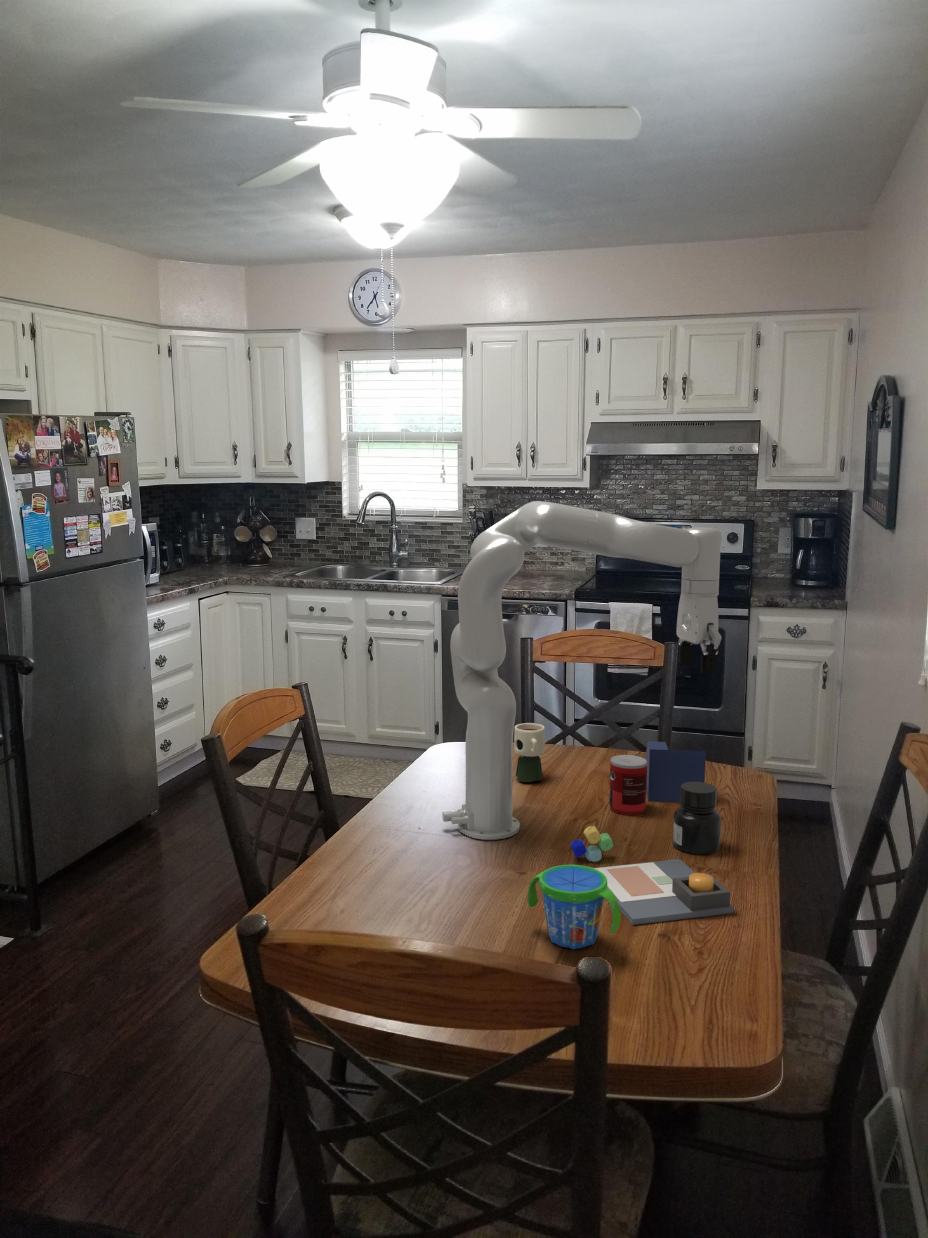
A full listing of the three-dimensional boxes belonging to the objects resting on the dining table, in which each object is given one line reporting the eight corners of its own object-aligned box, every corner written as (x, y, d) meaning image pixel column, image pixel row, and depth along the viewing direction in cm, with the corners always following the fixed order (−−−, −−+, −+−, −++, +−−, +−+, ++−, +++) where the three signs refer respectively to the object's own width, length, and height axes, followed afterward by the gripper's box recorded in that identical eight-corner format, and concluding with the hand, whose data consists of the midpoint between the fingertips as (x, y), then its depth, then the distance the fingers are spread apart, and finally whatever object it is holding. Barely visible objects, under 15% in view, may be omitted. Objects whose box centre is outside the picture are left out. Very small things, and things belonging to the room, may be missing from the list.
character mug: (509, 773, 228) (509, 721, 226) (538, 772, 229) (538, 720, 227) (519, 788, 218) (520, 734, 215) (549, 787, 219) (550, 732, 217)
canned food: (620, 800, 210) (621, 752, 208) (652, 808, 205) (654, 759, 203) (602, 809, 204) (603, 760, 203) (634, 818, 199) (636, 768, 198)
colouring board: (632, 925, 153) (633, 904, 153) (588, 873, 172) (588, 855, 172) (733, 913, 157) (734, 893, 157) (679, 864, 176) (680, 846, 176)
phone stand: (696, 785, 220) (698, 735, 218) (703, 803, 208) (705, 751, 206) (643, 783, 221) (645, 734, 219) (648, 801, 209) (649, 749, 208)
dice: (572, 863, 177) (573, 830, 176) (569, 857, 180) (569, 825, 178) (614, 860, 178) (615, 828, 177) (610, 855, 181) (611, 823, 180)
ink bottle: (682, 833, 191) (684, 776, 189) (725, 842, 187) (728, 784, 185) (666, 850, 183) (668, 790, 181) (711, 860, 178) (714, 799, 177)
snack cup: (512, 934, 150) (512, 873, 149) (553, 911, 158) (554, 853, 156) (593, 970, 140) (595, 905, 138) (633, 944, 147) (635, 882, 146)
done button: (695, 898, 157) (696, 884, 157) (684, 887, 161) (684, 874, 161) (717, 895, 158) (718, 881, 158) (705, 885, 162) (706, 872, 162)
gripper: (664, 583, 204) (662, 661, 206) (703, 593, 187) (700, 678, 190) (696, 582, 205) (693, 659, 208) (737, 592, 189) (734, 676, 191)
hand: (696, 668), depth 199 cm, fingers open, 9 cm apart
